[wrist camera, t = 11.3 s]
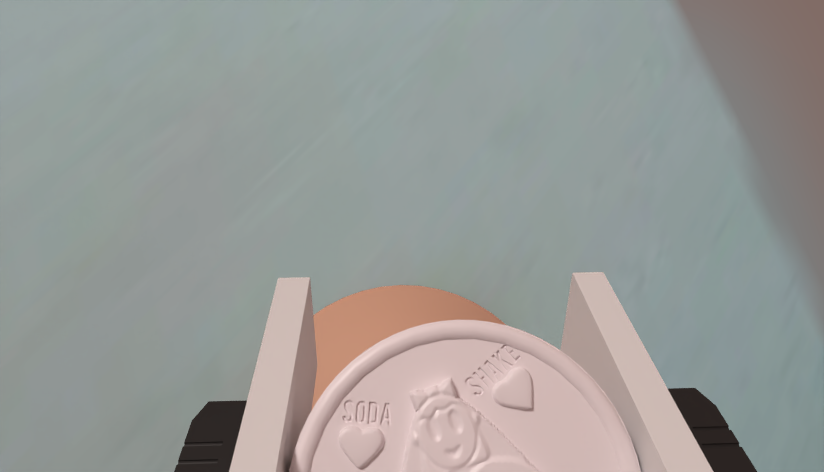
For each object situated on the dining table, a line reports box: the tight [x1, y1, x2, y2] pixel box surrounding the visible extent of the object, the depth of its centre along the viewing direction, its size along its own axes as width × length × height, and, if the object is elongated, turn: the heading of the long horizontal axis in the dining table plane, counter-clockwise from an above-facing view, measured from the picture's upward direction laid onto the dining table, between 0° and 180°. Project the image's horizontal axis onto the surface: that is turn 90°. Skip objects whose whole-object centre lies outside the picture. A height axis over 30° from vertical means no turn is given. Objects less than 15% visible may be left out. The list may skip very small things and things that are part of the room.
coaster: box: [312, 285, 506, 409], centre depth 27 cm, size 13×13×1 cm
